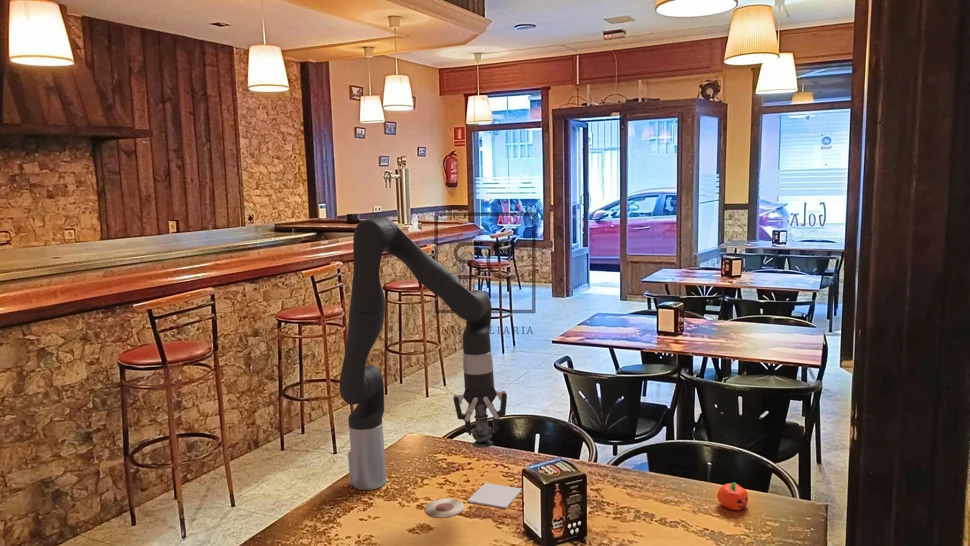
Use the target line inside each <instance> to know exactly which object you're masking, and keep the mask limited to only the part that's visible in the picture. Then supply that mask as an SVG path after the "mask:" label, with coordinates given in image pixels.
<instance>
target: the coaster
mask: <svg viewBox="0 0 970 546" xmlns="http://www.w3.org/2000/svg"><path fill="white" fill-rule="evenodd" d="M464 509H465V505H464V503H463V502H462V501H461V500H459V499H456V498H450V497H449V498H446V497H445V498H438V499H435V500H432V501H429V503H427V504H426V505H425V508H424V511H425V513H426V514H427V515H428V516H429V517H433V518H437V519H438V518H440V519H443V518H451V517H455V516H457V515H459V514H460V513H462V512H463V510H464Z"/></svg>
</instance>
